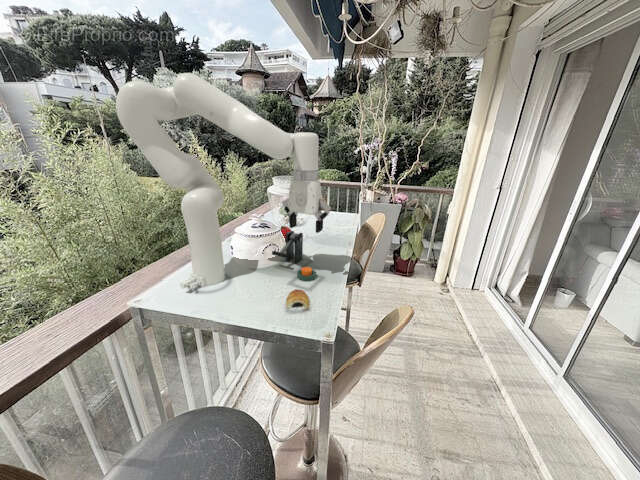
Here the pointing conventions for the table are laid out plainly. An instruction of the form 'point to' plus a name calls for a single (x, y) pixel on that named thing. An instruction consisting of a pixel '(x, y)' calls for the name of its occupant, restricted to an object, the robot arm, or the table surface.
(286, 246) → the lever
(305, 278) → the button box
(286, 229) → the tomato
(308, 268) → the button
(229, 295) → the table surface
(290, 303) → the pastry
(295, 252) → the bracket
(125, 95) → the robot arm
